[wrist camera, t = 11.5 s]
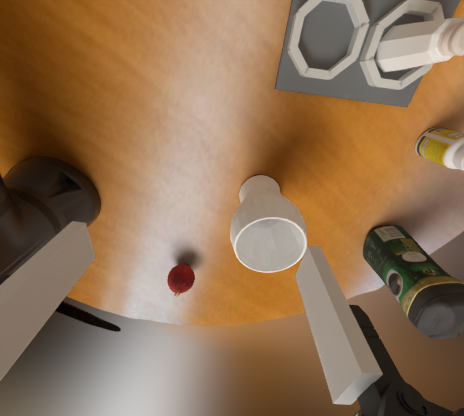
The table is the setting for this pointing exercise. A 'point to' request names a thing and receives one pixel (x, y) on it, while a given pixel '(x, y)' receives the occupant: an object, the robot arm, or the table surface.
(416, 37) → the pepper shaker
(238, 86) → the table surface
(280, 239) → the cup
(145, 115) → the table surface
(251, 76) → the table surface
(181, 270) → the onion
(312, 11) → the collar board
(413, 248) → the coffee jar
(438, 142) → the supplement bottle
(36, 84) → the table surface
